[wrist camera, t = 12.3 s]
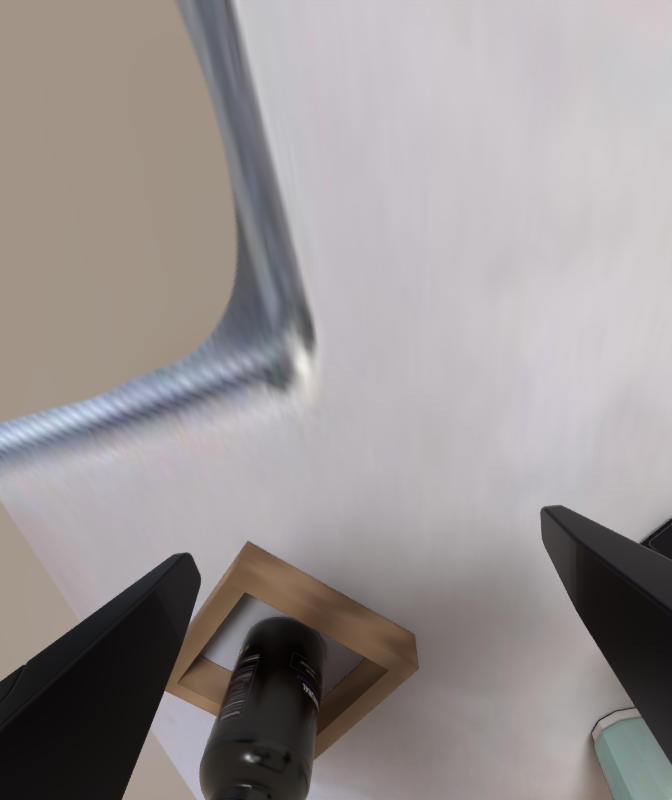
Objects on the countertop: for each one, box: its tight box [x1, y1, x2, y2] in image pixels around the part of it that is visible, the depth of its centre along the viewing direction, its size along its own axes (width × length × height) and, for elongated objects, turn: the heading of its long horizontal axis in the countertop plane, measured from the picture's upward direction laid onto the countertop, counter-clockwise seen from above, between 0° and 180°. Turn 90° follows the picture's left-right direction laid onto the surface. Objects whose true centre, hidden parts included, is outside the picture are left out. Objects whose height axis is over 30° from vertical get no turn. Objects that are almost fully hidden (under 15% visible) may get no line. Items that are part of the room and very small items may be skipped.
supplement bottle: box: [200, 617, 325, 800], centre depth 23 cm, size 7×7×12 cm
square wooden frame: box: [165, 541, 419, 761], centre depth 28 cm, size 15×15×2 cm
